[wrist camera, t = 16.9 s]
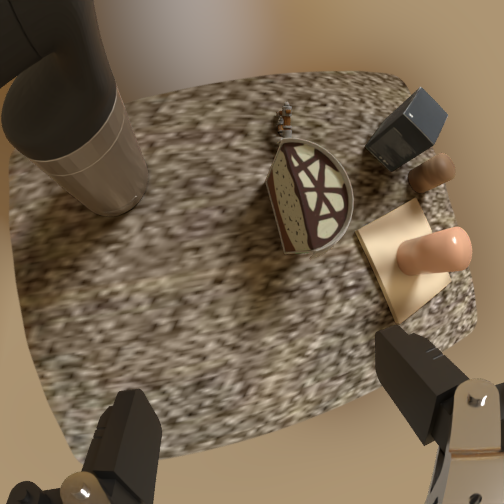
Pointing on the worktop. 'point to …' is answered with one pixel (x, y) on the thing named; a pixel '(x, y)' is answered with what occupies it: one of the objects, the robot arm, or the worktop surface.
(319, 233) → the food container
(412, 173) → the walnut cylinder
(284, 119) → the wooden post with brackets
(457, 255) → the salmon orange cylinder
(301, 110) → the worktop surface
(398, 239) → the birch board
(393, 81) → the worktop surface
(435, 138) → the box
